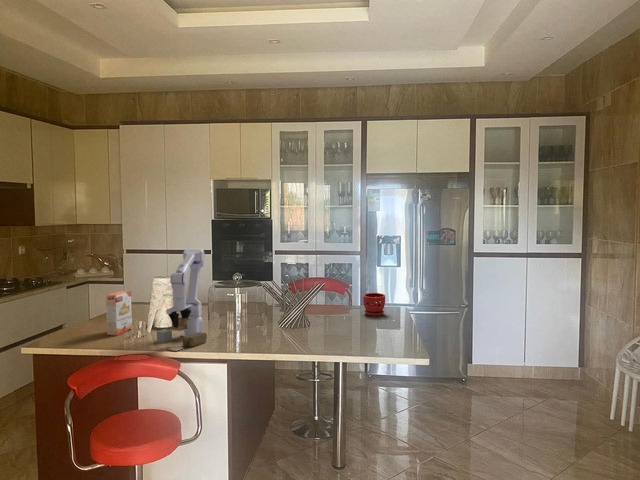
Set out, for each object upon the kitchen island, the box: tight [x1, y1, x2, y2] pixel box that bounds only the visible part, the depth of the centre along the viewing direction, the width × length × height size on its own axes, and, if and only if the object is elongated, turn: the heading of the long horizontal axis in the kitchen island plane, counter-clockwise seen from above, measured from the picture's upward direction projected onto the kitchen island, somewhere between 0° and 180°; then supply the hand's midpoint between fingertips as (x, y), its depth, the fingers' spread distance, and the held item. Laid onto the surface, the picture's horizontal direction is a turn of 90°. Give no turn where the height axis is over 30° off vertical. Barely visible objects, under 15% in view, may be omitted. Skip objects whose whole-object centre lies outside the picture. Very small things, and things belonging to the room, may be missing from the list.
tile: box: [165, 345, 187, 353], centre depth 229 cm, size 6×6×1 cm
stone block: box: [182, 332, 208, 348], centre depth 237 cm, size 6×12×5 cm, turn 150°
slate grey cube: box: [156, 328, 173, 343], centre depth 244 cm, size 5×5×5 cm
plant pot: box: [362, 292, 386, 317], centre depth 299 cm, size 13×13×12 cm
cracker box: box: [105, 290, 133, 337], centre depth 260 cm, size 14×6×21 cm, turn 168°
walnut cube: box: [171, 316, 188, 332], centre depth 237 cm, size 5×5×5 cm
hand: (180, 326), depth 237 cm, fingers closed on walnut cube, 5 cm apart
